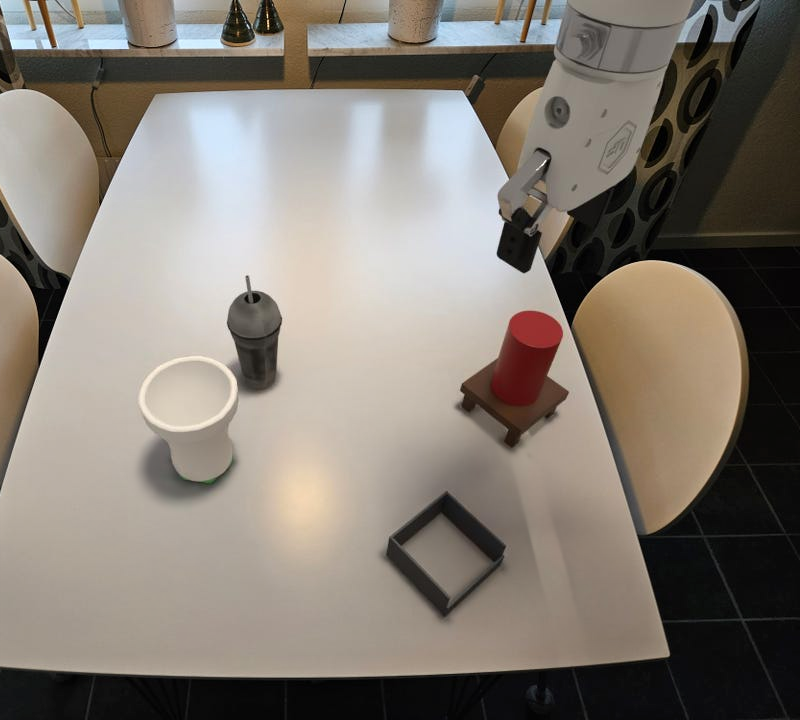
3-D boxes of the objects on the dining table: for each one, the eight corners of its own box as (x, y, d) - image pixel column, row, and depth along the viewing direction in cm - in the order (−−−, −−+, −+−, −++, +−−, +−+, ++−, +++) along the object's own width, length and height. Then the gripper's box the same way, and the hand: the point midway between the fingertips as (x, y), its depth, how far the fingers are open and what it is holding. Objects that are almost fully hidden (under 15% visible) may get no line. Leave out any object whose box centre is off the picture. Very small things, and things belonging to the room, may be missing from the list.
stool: (558, 414, 89) (569, 391, 85) (512, 453, 85) (521, 430, 81) (502, 372, 94) (510, 349, 91) (455, 406, 90) (461, 383, 86)
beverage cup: (290, 362, 95) (285, 255, 80) (279, 400, 90) (272, 293, 76) (242, 356, 96) (228, 248, 81) (229, 393, 91) (212, 286, 76)
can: (549, 389, 86) (574, 331, 77) (518, 414, 83) (540, 355, 75) (511, 362, 89) (531, 303, 81) (480, 384, 86) (497, 325, 78)
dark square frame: (500, 565, 74) (509, 547, 71) (444, 617, 70) (451, 600, 67) (441, 509, 79) (446, 490, 76) (385, 555, 75) (389, 536, 72)
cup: (142, 464, 83) (117, 395, 73) (205, 412, 89) (191, 340, 78) (202, 515, 78) (184, 448, 68) (265, 457, 84) (258, 387, 74)
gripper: (587, 92, 38) (519, 307, 50) (734, 21, 45) (642, 224, 58) (488, 51, 42) (448, 260, 54) (638, -8, 49) (572, 187, 62)
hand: (548, 241), depth 56 cm, fingers open, 9 cm apart
